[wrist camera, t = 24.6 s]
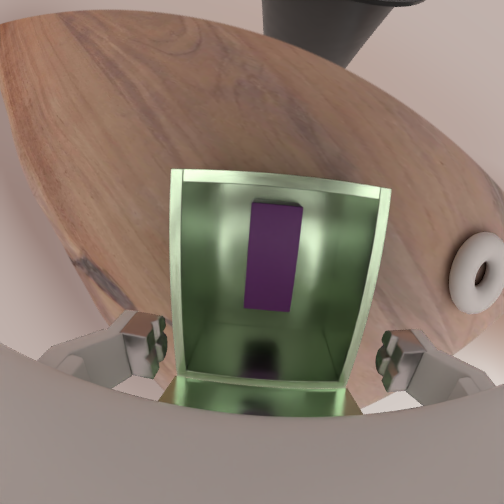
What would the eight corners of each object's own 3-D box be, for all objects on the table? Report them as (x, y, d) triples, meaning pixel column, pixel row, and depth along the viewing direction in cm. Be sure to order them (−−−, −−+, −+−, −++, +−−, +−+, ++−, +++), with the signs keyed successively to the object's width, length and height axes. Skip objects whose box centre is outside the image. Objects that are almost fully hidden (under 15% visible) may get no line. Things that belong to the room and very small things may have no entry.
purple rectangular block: (253, 198, 24) (251, 202, 21) (299, 203, 24) (303, 207, 21) (246, 294, 26) (243, 308, 24) (287, 297, 26) (289, 312, 23)
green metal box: (203, 169, 24) (170, 168, 16) (352, 182, 24) (392, 188, 15) (199, 323, 29) (177, 376, 20) (327, 333, 28) (345, 388, 20)
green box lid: (62, 533, 3) (97, 570, 3) (442, 548, 3) (394, 584, 3) (175, 375, 20) (176, 420, 20) (347, 387, 19) (335, 431, 19)
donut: (504, 239, 24) (459, 218, 24) (521, 246, 21) (478, 224, 20) (479, 310, 27) (431, 302, 26) (494, 321, 23) (446, 315, 23)
